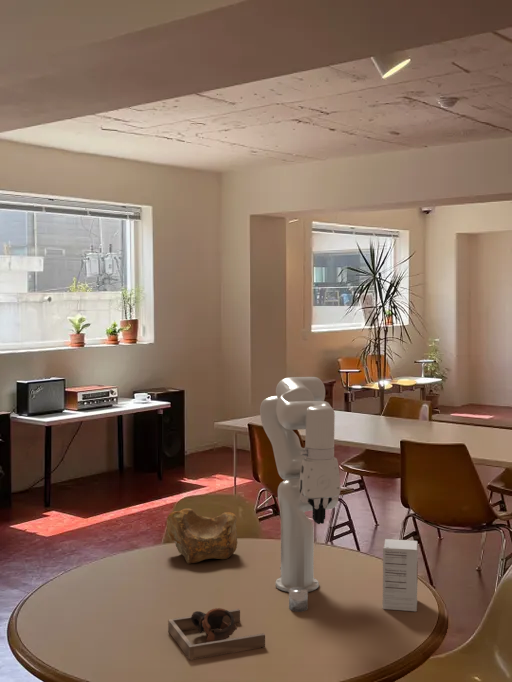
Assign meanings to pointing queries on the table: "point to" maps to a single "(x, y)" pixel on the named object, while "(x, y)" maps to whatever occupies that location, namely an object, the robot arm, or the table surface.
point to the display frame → (216, 646)
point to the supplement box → (400, 574)
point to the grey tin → (298, 599)
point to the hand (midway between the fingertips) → (318, 522)
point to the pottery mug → (214, 624)
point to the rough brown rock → (202, 535)
